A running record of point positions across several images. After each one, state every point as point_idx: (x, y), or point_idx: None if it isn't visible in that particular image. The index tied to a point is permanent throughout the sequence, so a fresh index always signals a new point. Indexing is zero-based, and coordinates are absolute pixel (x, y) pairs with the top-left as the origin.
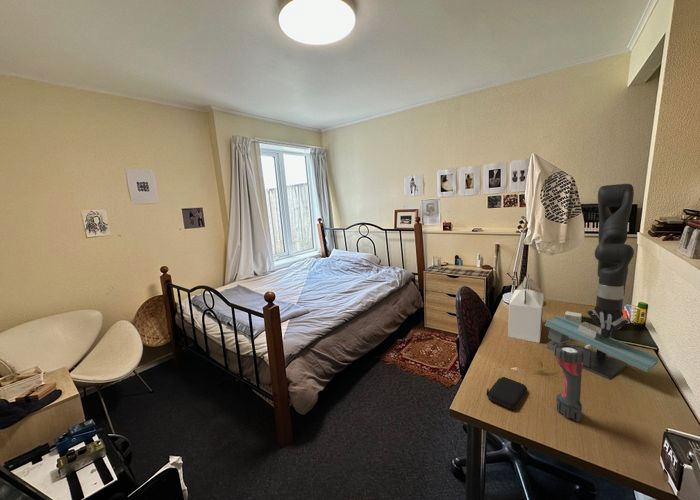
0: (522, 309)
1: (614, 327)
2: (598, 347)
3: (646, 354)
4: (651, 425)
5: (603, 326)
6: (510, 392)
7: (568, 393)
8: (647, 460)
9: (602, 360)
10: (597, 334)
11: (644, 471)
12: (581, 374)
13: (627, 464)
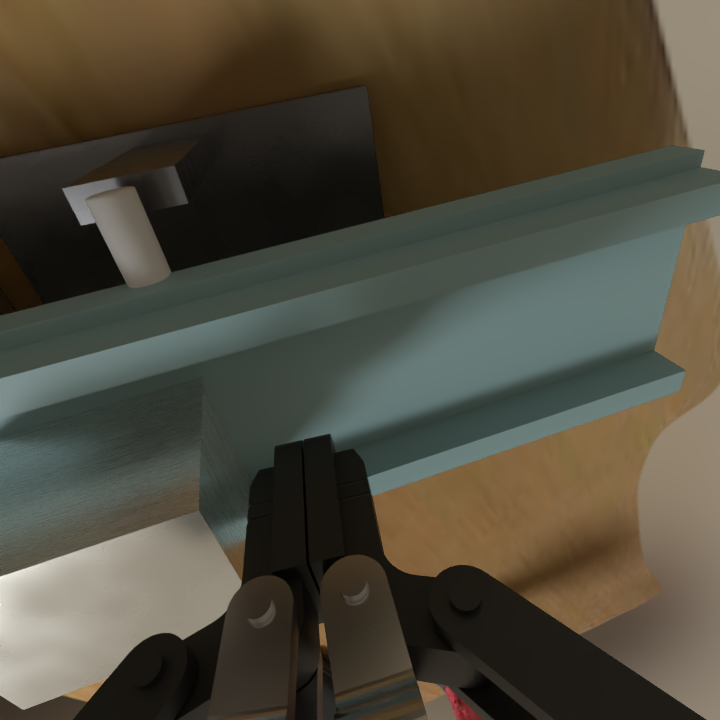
0: None
1: (482, 696)
2: None
3: (642, 230)
4: (618, 478)
5: (303, 682)
6: (328, 715)
7: None
8: (630, 572)
9: (252, 237)
10: (243, 534)
11: (630, 594)
12: None
13: (602, 606)
